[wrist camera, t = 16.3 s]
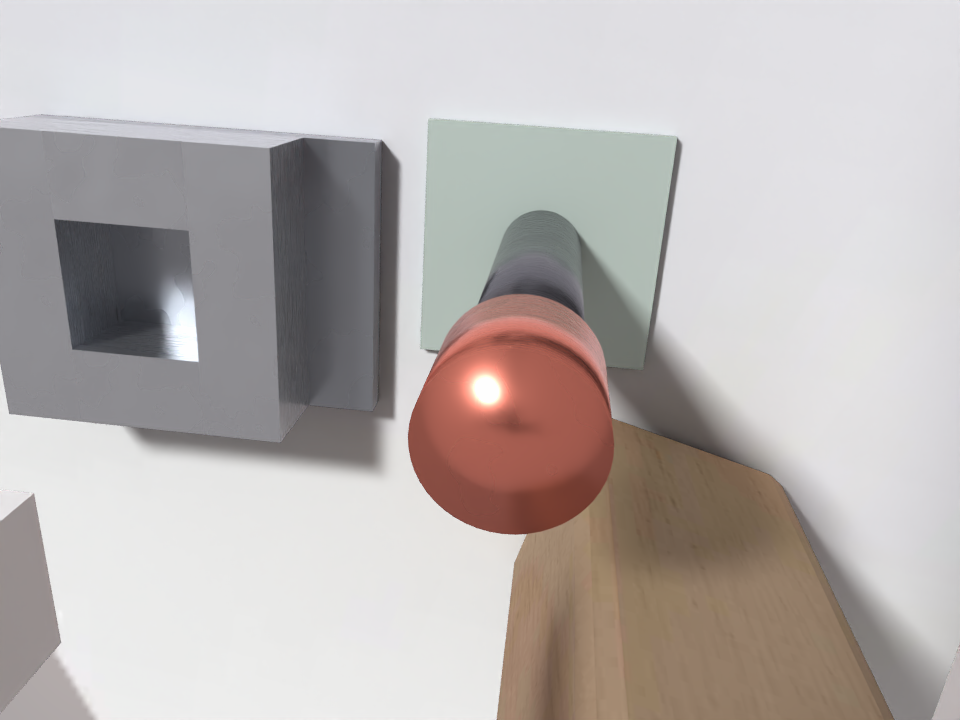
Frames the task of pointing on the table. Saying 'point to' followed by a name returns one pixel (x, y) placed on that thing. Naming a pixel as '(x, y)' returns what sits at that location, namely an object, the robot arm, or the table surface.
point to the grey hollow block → (187, 274)
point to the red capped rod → (518, 393)
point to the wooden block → (679, 603)
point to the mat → (551, 187)
